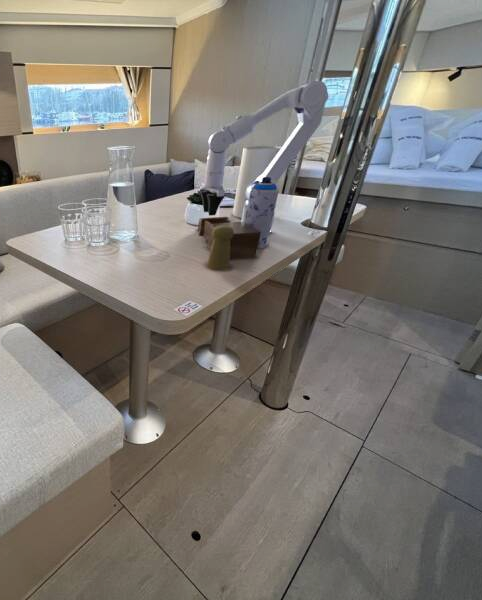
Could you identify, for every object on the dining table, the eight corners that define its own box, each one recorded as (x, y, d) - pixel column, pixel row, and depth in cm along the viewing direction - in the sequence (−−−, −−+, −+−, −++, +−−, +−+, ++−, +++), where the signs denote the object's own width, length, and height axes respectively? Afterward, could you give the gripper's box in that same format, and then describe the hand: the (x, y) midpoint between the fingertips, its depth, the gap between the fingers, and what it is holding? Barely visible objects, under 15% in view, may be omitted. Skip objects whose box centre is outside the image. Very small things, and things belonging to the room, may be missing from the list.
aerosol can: (243, 238, 105) (255, 174, 95) (269, 242, 101) (284, 175, 91) (237, 245, 100) (249, 178, 90) (264, 249, 95) (280, 180, 86)
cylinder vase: (264, 212, 131) (279, 145, 119) (267, 220, 121) (283, 148, 109) (232, 211, 135) (243, 146, 123) (232, 218, 125) (243, 149, 113)
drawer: (193, 231, 112) (195, 214, 109) (218, 229, 112) (220, 212, 109) (209, 244, 99) (211, 226, 96) (237, 242, 99) (240, 224, 97)
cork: (226, 272, 83) (233, 231, 78) (203, 268, 86) (208, 228, 81) (231, 263, 88) (238, 224, 82) (209, 260, 91) (214, 222, 85)
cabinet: (206, 247, 99) (209, 223, 96) (238, 245, 100) (242, 221, 96) (220, 260, 90) (224, 234, 86) (255, 257, 91) (261, 231, 87)
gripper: (195, 170, 111) (191, 209, 117) (211, 176, 98) (206, 219, 105) (215, 169, 111) (209, 208, 118) (233, 174, 98) (226, 218, 105)
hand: (209, 213), depth 111 cm, fingers open, 4 cm apart
